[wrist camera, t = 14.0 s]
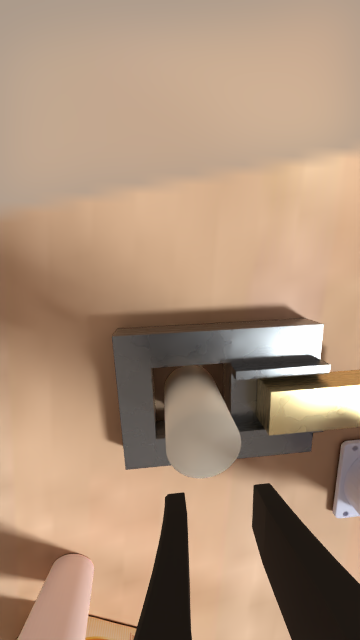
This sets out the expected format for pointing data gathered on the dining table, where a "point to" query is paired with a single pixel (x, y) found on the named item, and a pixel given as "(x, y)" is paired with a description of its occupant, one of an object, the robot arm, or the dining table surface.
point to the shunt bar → (309, 402)
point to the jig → (239, 378)
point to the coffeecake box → (108, 630)
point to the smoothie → (62, 602)
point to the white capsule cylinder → (198, 424)
